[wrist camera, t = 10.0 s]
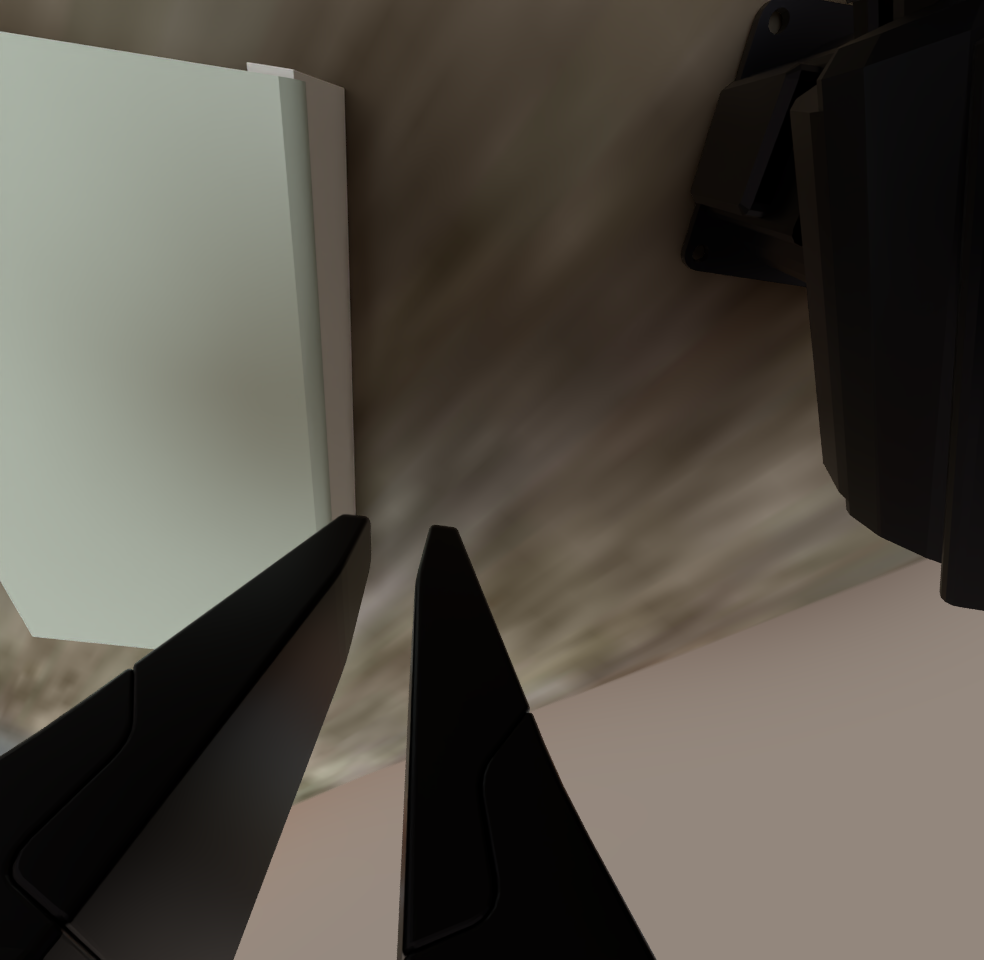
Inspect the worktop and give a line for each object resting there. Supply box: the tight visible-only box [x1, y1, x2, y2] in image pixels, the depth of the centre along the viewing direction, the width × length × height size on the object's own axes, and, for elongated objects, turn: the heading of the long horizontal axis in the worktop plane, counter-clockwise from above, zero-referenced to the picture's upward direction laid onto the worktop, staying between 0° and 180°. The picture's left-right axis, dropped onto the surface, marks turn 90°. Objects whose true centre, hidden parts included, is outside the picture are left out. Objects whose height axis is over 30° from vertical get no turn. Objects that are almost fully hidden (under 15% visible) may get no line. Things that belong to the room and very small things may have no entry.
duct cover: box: [0, 31, 332, 649], centre depth 16 cm, size 12×20×1 cm, turn 173°
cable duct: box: [247, 62, 356, 521], centre depth 18 cm, size 12×20×4 cm, turn 173°
